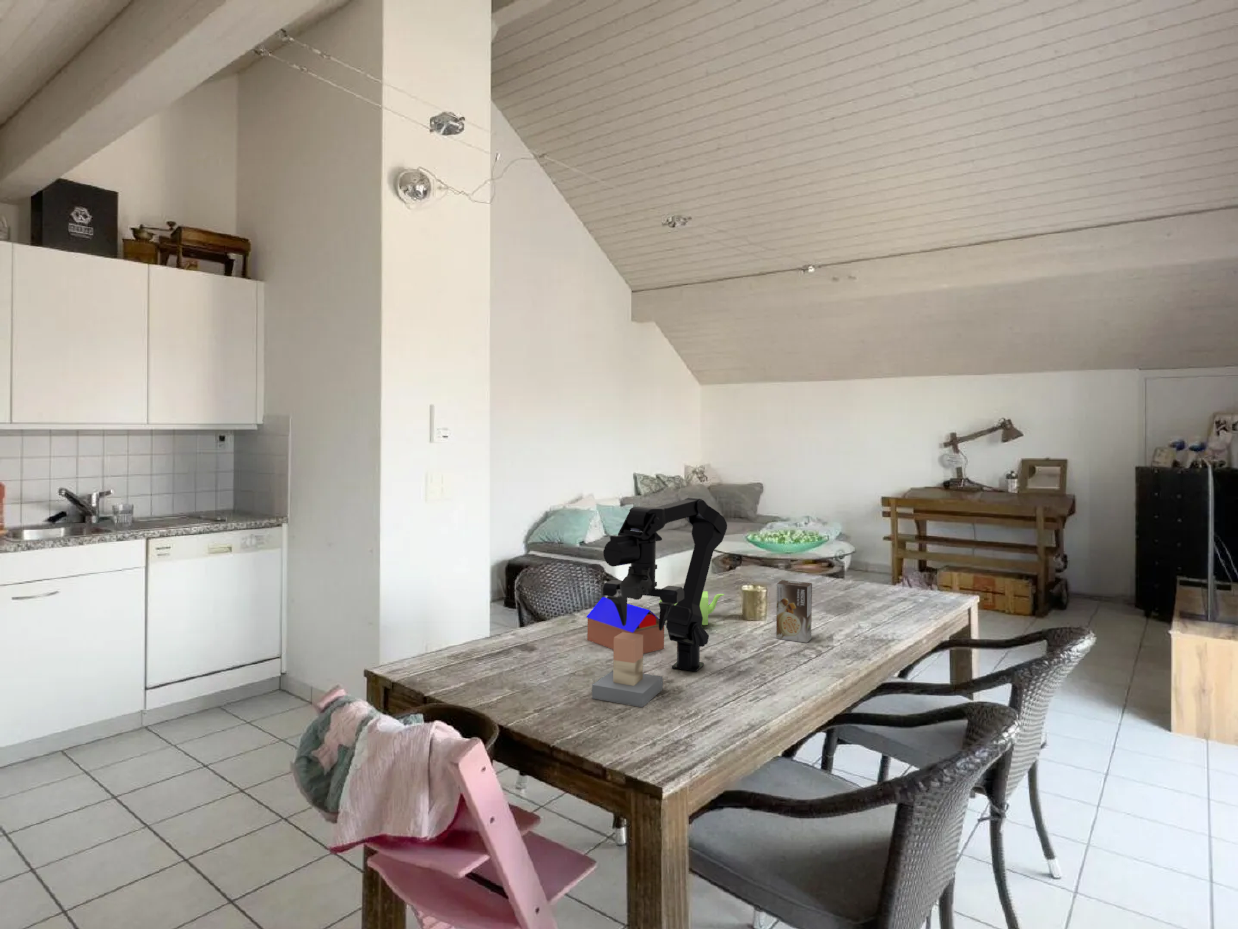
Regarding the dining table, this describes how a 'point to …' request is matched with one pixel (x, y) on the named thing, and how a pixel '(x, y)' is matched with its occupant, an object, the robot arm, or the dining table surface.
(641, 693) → the slate board
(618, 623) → the house
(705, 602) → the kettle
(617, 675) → the birch cube
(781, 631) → the coffee box
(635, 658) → the terracotta cube
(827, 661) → the dining table surface
